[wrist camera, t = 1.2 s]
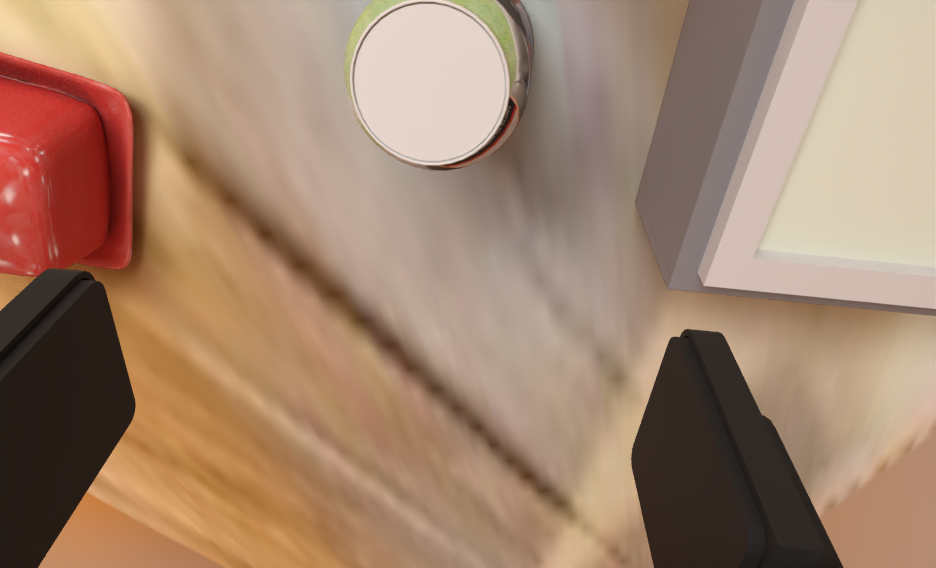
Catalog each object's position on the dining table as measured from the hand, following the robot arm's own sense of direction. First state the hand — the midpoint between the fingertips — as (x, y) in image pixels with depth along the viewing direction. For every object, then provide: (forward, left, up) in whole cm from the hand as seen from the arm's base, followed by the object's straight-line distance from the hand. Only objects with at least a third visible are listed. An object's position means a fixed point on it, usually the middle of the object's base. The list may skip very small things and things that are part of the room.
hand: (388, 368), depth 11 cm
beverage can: (0, 0, -23) cm, 23 cm away
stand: (0, +18, -23) cm, 29 cm away
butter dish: (+8, -22, -23) cm, 33 cm away
